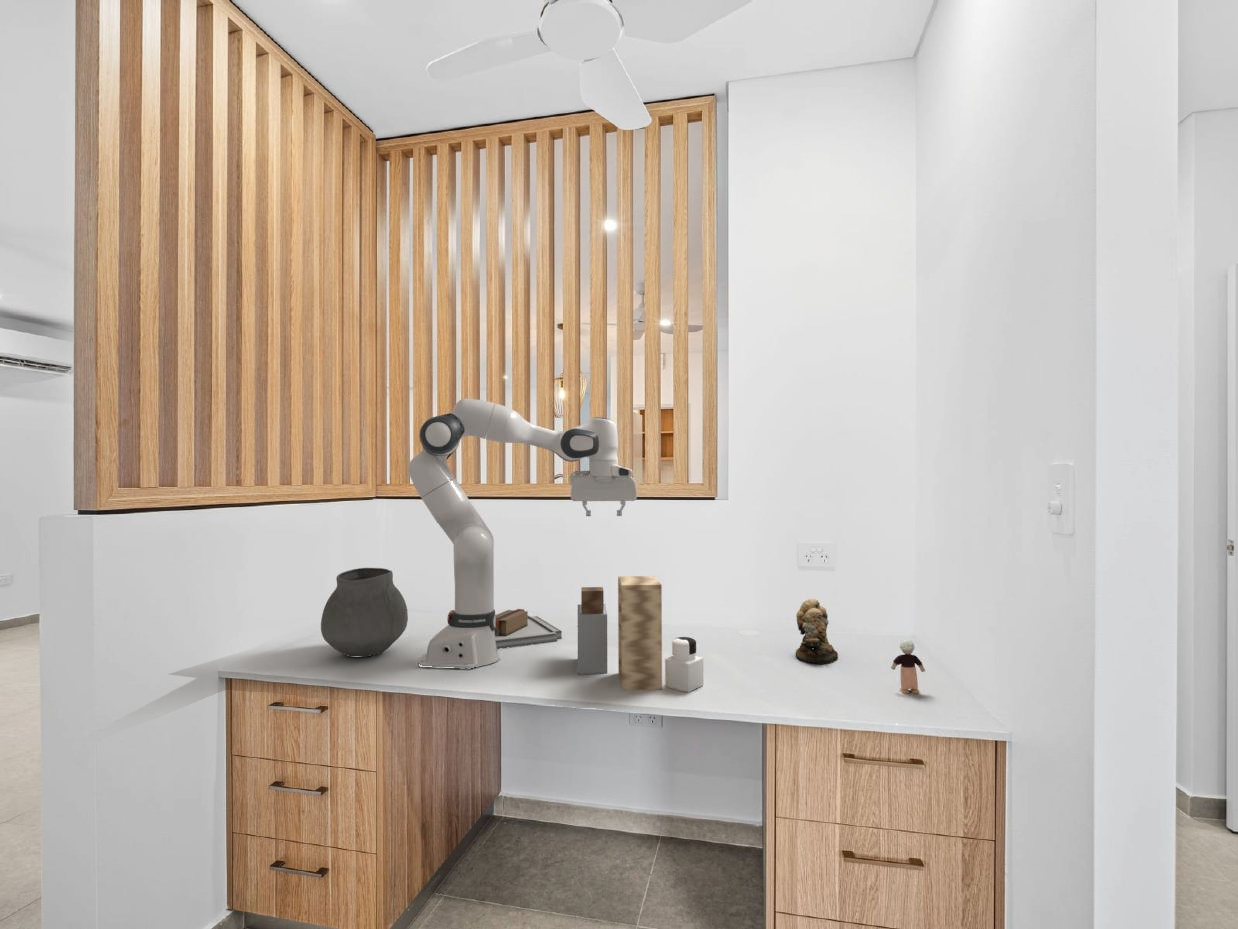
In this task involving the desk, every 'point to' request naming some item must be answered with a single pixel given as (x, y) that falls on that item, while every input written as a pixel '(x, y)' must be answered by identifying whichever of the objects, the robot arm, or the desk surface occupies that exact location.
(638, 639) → the tall wooden pillar
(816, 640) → the brown lumpy piece
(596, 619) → the plinth
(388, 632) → the ceramic pot
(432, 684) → the desk surface
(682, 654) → the medicine bottle
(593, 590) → the brown wooden bar
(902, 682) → the grandmother figurine
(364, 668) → the desk surface
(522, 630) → the grey tray
